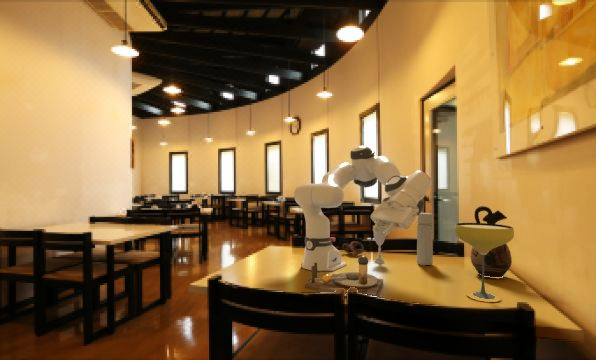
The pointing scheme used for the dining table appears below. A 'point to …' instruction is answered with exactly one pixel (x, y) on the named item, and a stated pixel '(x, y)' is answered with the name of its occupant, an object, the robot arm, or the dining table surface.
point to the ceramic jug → (497, 257)
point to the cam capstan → (354, 277)
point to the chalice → (379, 243)
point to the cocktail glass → (484, 242)
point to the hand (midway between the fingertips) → (379, 232)
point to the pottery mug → (353, 248)
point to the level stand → (332, 286)
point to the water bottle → (425, 239)
